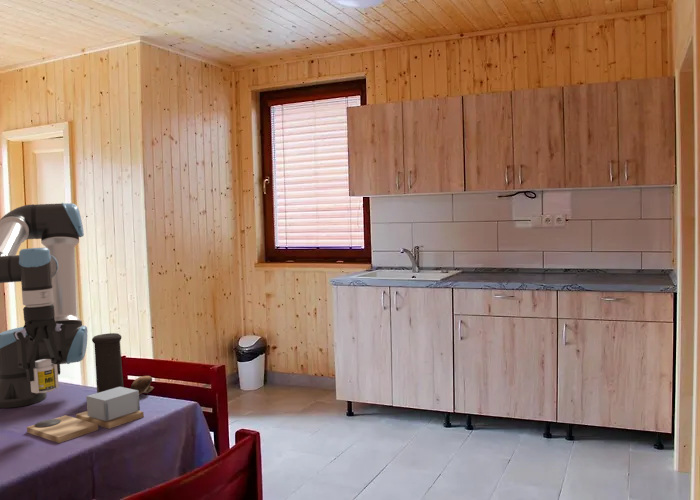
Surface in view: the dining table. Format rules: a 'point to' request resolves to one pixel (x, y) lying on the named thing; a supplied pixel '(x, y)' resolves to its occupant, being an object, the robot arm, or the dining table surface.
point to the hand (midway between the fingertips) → (45, 389)
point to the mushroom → (142, 384)
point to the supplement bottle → (45, 375)
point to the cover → (113, 403)
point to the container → (108, 361)
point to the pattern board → (112, 422)
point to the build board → (62, 428)
